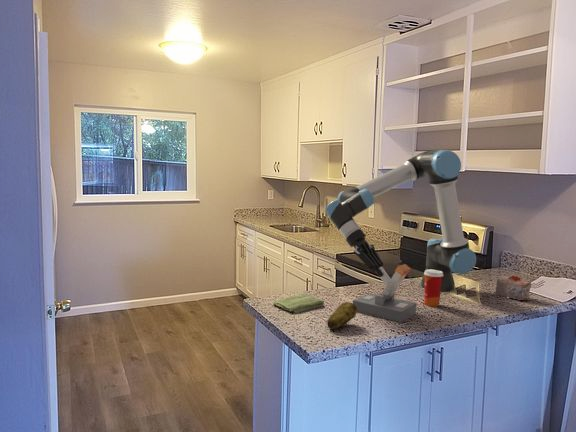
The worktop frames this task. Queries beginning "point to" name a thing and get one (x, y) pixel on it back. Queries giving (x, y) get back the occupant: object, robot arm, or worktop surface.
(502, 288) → the food item
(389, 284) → the lever
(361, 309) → the switch block
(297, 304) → the washcloth
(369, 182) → the robot arm
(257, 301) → the worktop surface
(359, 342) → the worktop surface
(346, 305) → the potato
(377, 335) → the worktop surface
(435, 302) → the paper cup
